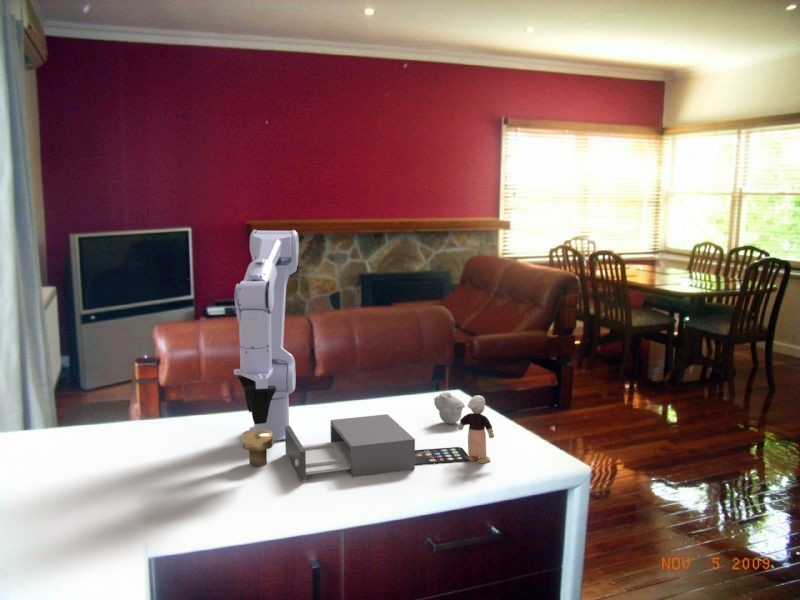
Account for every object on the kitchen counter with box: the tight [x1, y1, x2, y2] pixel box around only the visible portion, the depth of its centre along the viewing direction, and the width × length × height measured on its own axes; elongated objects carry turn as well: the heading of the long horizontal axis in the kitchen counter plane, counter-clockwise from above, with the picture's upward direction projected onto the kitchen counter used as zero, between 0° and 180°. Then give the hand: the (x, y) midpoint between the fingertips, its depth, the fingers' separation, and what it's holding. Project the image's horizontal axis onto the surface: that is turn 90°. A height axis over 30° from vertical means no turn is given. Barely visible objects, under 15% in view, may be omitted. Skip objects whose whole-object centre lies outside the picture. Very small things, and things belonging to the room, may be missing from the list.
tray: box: [284, 425, 351, 482], centre depth 130 cm, size 15×12×5 cm
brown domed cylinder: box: [248, 449, 268, 468], centre depth 130 cm, size 3×3×4 cm
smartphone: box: [415, 446, 471, 466], centre depth 134 cm, size 7×1×15 cm
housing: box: [330, 413, 416, 478], centre depth 133 cm, size 16×12×6 cm
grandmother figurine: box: [457, 394, 495, 464], centre depth 132 cm, size 8×4×13 cm, turn 65°
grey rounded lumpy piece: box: [433, 391, 466, 425], centre depth 154 cm, size 6×7×7 cm
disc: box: [241, 429, 274, 452], centre depth 129 cm, size 6×6×2 cm
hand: (257, 417), depth 129 cm, fingers open, 7 cm apart
